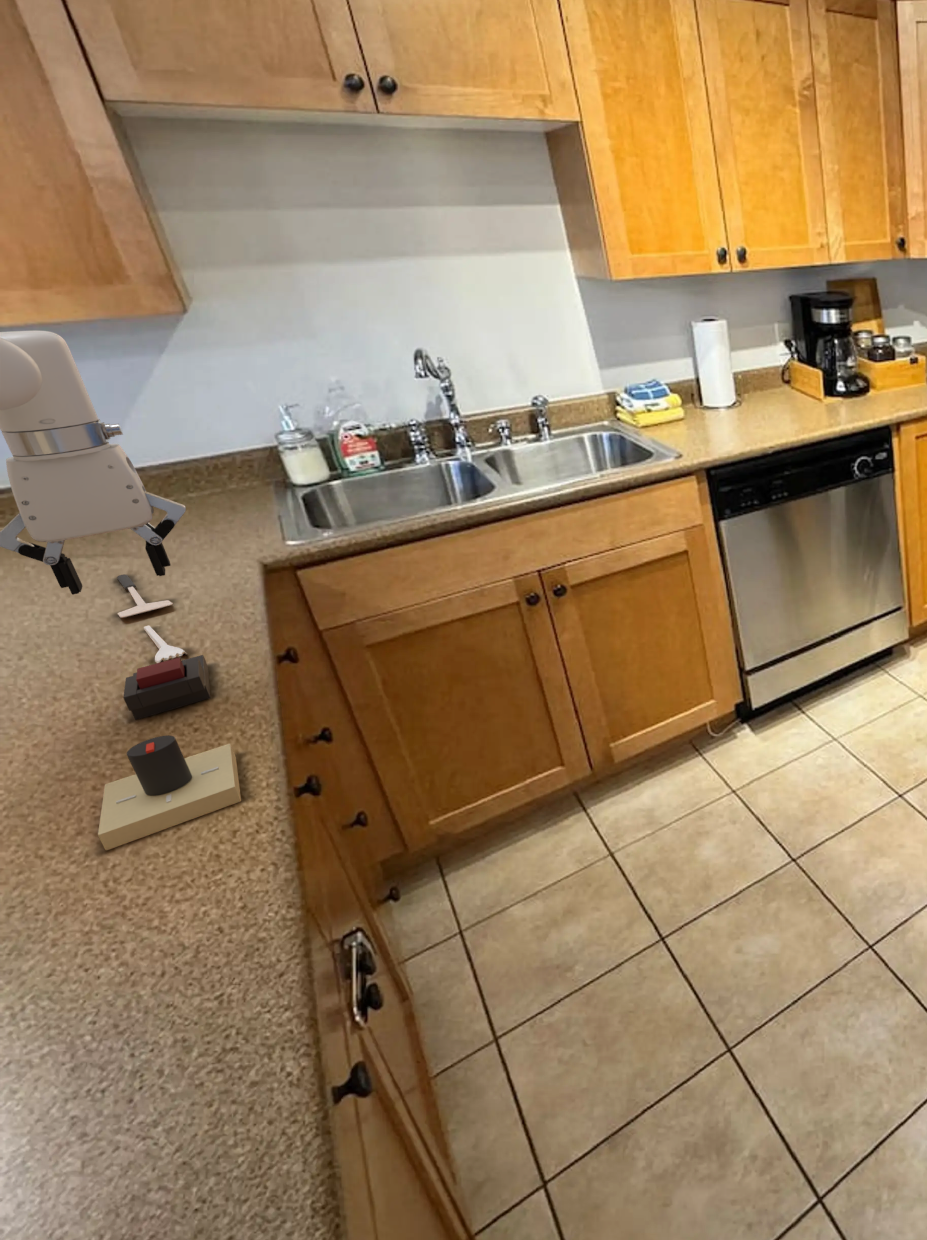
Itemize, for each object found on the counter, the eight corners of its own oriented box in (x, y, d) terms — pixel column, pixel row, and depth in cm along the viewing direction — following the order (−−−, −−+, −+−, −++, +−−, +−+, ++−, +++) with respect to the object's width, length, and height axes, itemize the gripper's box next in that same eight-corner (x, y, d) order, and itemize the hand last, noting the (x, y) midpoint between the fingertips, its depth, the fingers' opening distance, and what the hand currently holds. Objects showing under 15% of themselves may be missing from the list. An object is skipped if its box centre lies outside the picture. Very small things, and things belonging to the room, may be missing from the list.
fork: (162, 626, 123) (157, 616, 122) (193, 661, 112) (188, 649, 111) (133, 634, 120) (129, 623, 120) (162, 670, 109) (157, 659, 109)
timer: (112, 799, 83) (104, 782, 82) (236, 757, 90) (229, 741, 89) (105, 851, 76) (96, 833, 75) (241, 801, 82) (234, 785, 81)
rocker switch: (138, 685, 106) (127, 660, 104) (208, 666, 110) (197, 642, 109) (135, 725, 96) (122, 697, 95) (211, 702, 101) (199, 676, 100)
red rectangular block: (142, 680, 100) (137, 668, 99) (184, 668, 103) (179, 657, 102) (141, 691, 97) (135, 679, 97) (185, 679, 100) (180, 667, 99)
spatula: (124, 625, 124) (120, 617, 123) (98, 583, 141) (95, 576, 140) (176, 611, 128) (173, 603, 128) (145, 572, 145) (142, 565, 145)
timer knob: (145, 785, 82) (125, 743, 80) (192, 769, 84) (173, 728, 82) (144, 800, 79) (124, 758, 78) (192, 784, 82) (173, 742, 80)
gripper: (163, 424, 97) (214, 554, 103) (-54, 449, 86) (18, 595, 92) (162, 432, 92) (216, 569, 98) (-68, 461, 81) (8, 614, 87)
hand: (120, 580), depth 95 cm, fingers open, 6 cm apart
